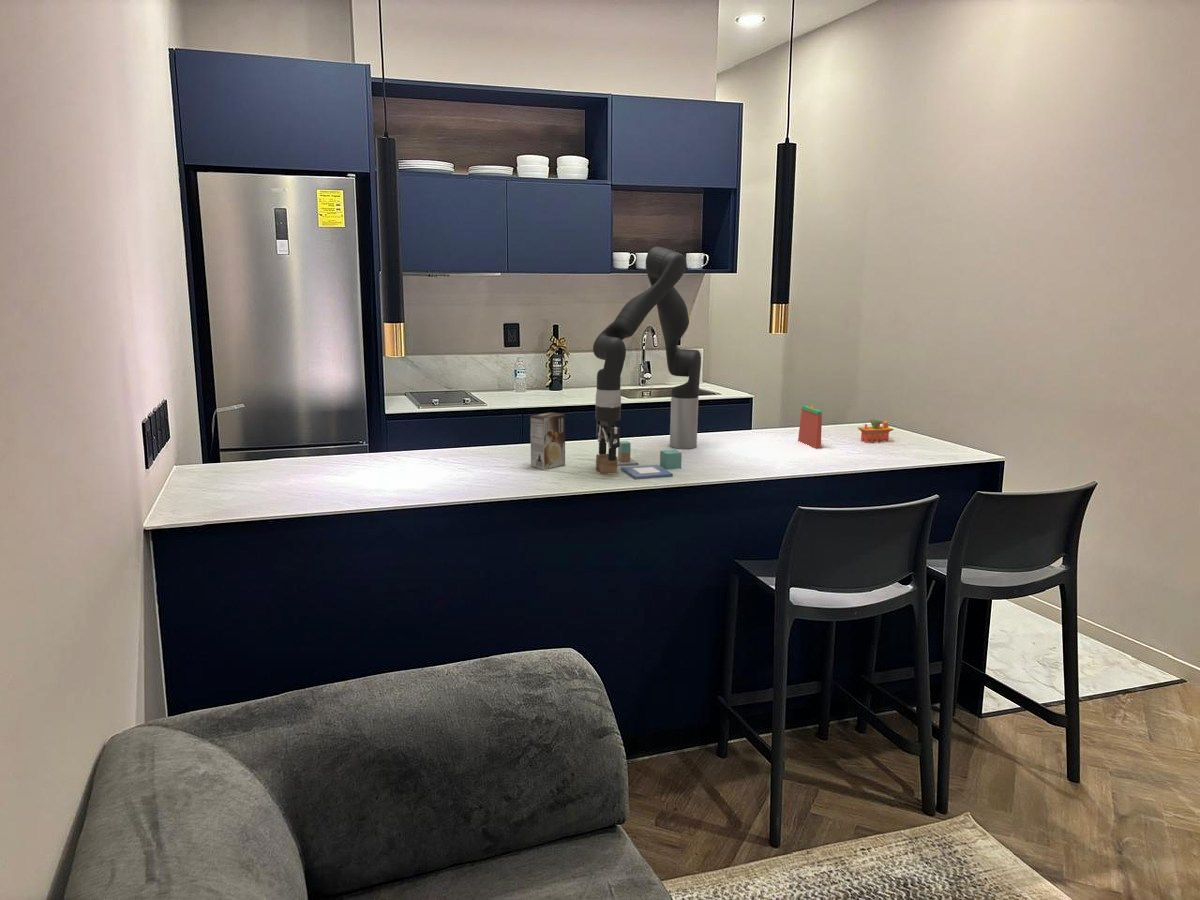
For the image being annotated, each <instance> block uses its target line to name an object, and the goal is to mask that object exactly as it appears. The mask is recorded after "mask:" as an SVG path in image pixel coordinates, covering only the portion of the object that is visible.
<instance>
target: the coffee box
mask: <svg viewBox="0 0 1200 900" xmlns="http://www.w3.org/2000/svg"><path fill="white" fill-rule="evenodd" d="M565 415H566V414H565V413H558V412H554V411H552V412H551V411H549V412H543V413H539V414H533V415H530V416H529V418H530V420H529V421H530V422H529V424H530V429H529V431H530V434H529V436H530V467H532V466H534V467H533V468H535V467H538V468H537V469H540V468H542V469H541V470H544V469H545V470H548V469H547V468H549V469H553V468H557V467H561V466H565V465H566V428H565V427H566V417H565ZM552 467H553V468H552Z"/></svg>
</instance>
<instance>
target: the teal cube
mask: <svg viewBox="0 0 1200 900" xmlns="http://www.w3.org/2000/svg"><path fill="white" fill-rule="evenodd" d="M659 451H660V453H659V455H660V456H659V466H661V467H662V468H664V469H666V470H667V471H668V470H678V469H680V470H681V469H682V455H683V453H682V452H681V451H679V450H677V449H676V448H675V449H662V450H659Z"/></svg>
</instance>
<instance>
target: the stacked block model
mask: <svg viewBox="0 0 1200 900" xmlns="http://www.w3.org/2000/svg"><path fill="white" fill-rule="evenodd" d="M631 446H632V445H631V442H629V441H627V440H624V441H620V447H617V452H618V453H617V467H628V466H639V462H638V461H637V460H635V459H633V458H632V457H631V449H632V447H631Z"/></svg>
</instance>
